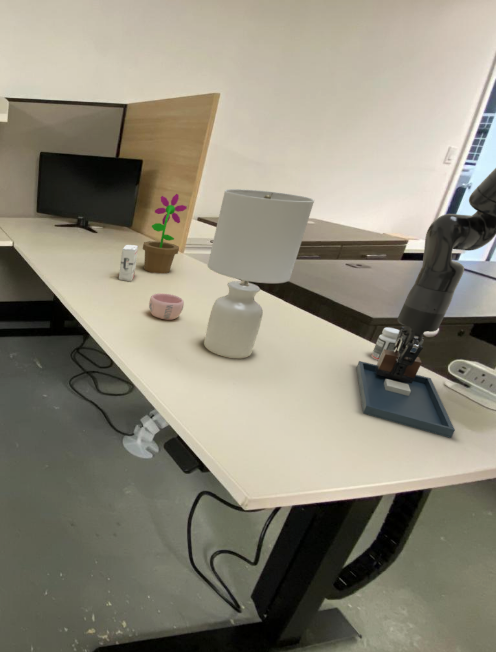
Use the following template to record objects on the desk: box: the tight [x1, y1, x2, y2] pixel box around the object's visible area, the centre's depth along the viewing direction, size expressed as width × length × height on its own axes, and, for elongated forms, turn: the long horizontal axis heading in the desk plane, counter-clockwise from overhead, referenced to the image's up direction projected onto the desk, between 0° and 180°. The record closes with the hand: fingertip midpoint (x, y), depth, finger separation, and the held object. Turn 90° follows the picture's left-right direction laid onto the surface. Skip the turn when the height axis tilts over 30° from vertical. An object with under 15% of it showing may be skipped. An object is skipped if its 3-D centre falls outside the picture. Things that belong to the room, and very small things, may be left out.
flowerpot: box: [142, 193, 188, 274], centre depth 185 cm, size 14×14×30 cm
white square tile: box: [384, 379, 411, 396], centre depth 107 cm, size 4×4×1 cm
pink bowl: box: [148, 292, 185, 320], centre depth 141 cm, size 12×10×6 cm
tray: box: [355, 360, 456, 439], centre depth 104 cm, size 26×15×2 cm, turn 150°
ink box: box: [118, 244, 139, 283], centre depth 175 cm, size 9×5×12 cm, turn 160°
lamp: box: [203, 188, 315, 359], centre depth 114 cm, size 19×19×39 cm
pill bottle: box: [371, 327, 400, 362], centre depth 122 cm, size 5×5×8 cm
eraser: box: [375, 349, 422, 384], centre depth 110 cm, size 7×4×6 cm, turn 60°
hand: (394, 373), depth 111 cm, fingers closed on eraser, 3 cm apart
